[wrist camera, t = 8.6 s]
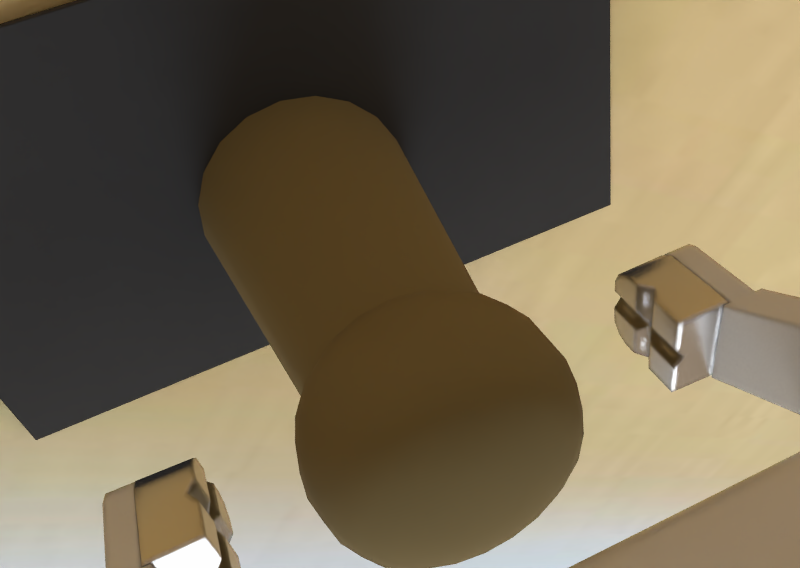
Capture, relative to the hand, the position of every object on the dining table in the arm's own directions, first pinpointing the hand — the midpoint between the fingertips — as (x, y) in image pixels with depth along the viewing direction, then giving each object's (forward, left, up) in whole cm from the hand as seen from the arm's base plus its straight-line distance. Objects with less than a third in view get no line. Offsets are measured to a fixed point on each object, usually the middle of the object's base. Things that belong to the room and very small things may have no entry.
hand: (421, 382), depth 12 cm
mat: (0, 0, -9) cm, 9 cm away
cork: (+1, 0, -9) cm, 9 cm away
